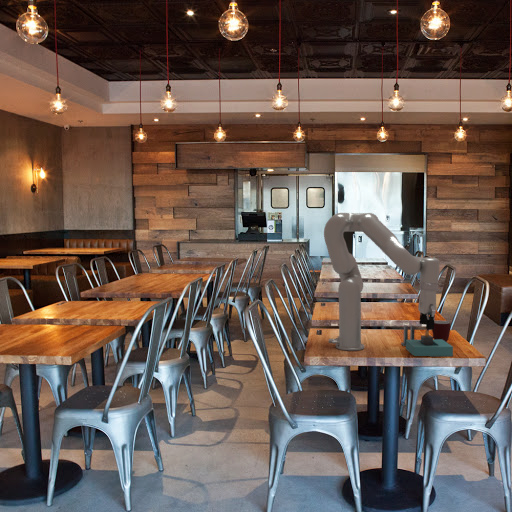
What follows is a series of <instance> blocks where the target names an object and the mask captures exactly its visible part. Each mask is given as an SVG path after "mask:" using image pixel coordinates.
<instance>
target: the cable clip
mask: <svg viewBox="0 0 512 512" xmlns="http://www.w3.org/2000/svg"><path fill="white" fill-rule="evenodd" d="M408 327H409V326H408V325H405V324H404V325H403V342H400V344H401V346H402V345H403V346H406V340H415V325H413V324H411V325H410V330H409V328H408ZM409 332H410V335H409ZM408 335H409V336H408ZM408 337H410V339H409V338H408ZM403 346H402V347H403Z"/></svg>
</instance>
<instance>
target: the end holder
mask: <svg viewBox="0 0 512 512" xmlns="http://www.w3.org/2000/svg"><path fill="white" fill-rule="evenodd" d="M405 350H406V351H408V352H409V353H410V354H411V355H412V356H413V355H414V356H430V357H453V356H454V353H453V352H454V346H453V345H451V344H449V343H448V341H447V342H445V341H444V340H442V339H436V340H434V339H433V346H425V345H423V344H422V343H421V339H414V340H410V339H408V340H406V347H405ZM414 356H413V357H414Z"/></svg>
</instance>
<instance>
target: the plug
mask: <svg viewBox="0 0 512 512" xmlns="http://www.w3.org/2000/svg"><path fill="white" fill-rule="evenodd" d="M429 331H430V330H429ZM429 331H427V329H426V330H425V331H424V332H425V333H424V335H422V334H421V335H420V340H421V343H422V344H423V345H425V346H433V340H434V338H433V335H432V334H431V335H430V334H429V333H430V332H429Z"/></svg>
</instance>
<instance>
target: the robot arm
mask: <svg viewBox="0 0 512 512" xmlns="http://www.w3.org/2000/svg"><path fill="white" fill-rule="evenodd" d="M345 232H346V233H347V232H348V233H349V232H350V233H351V232H355V233H357V232H358V233H363V234H364V235H365V236H366V237H367V238H368V239H370V241H372V243H374V244H375V245H376V246H377V247H378V248H379V249H380V250H381V251H382V253H384V255H386V256H387V257H388V259H390V260H391V262H392V263H393V264H394V265H396V266H397V267H398V269H400V270H401V271H402V272H403V273H404V274H406V275H407V276H408V275H409V276H414V275H416V274H419V275H420V276H419V278H420V279H419V291H420V292H419V299H418V308H417V309H418V312H419V322H418V323H419V325H425V329H426V330H427V329H430V330H432V329H434V321H436V311H437V310H436V309H437V292H438V291H439V282H440V281H439V280H440V278H439V277H440V264H441V263H440V260H439V258H436V257H421V256H416V255H415V256H414V255H413V254H412V253H410V252H409V251H408V250H407V249H406V248H405V247H404V246H403V245H402V243H401V242H400V241H399V239H398V237H397V236H396V234H394V233H393V232H392V231H391V230H390V229H389V228H388V227H387V226H386V225H385V224H384V223H383V222H382V221H381V220H380V219H379V218H378V216H377V215H376V214H374V213H372V212H364V213H363V212H362V213H361V212H355V213H354V212H338V213H335V214H334V215H332V216H331V217H330V218H329V219H328V220H327V222H326V224H325V226H324V230H323V237H324V238H323V239H324V242H325V245H326V249H327V252H328V255H329V260H330V262H331V266H332V270H334V272H335V273H336V274H337V275H338V276H339V280H340V282H339V285H338V288H337V289H338V291H337V293H338V314H339V315H338V317H339V318H338V320H339V321H338V323H339V324H338V328H339V329H338V332H339V333H338V336H337V337H336V338H328V344H335V348H336V349H337V350H341V351H352V352H353V351H360V350H361V351H362V350H364V349H365V345H364V344H363V343H362V303H361V302H362V300H361V299H362V298H361V294H362V291H363V289H364V281H363V278H362V275H361V272H360V269H359V266H358V263H357V262H358V261H357V260H356V258H355V256H354V255H353V254H352V253H350V252H349V249H348V246H347V243H346V240H345V238H344V233H345Z"/></svg>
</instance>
